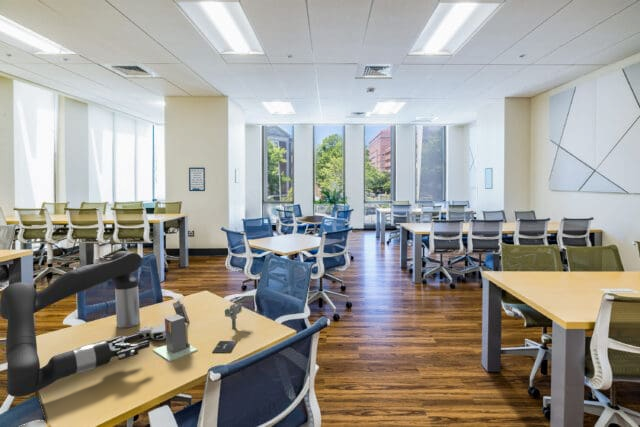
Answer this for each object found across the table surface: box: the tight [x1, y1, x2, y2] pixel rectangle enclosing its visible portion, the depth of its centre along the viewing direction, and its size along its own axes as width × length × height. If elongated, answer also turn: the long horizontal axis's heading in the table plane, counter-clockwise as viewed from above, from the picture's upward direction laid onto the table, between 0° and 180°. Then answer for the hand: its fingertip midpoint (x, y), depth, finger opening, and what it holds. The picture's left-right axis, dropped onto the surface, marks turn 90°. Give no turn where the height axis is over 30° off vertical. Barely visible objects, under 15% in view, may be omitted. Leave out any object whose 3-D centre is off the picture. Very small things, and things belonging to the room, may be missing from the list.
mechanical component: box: [224, 302, 243, 330], centre depth 152 cm, size 3×10×10 cm, turn 158°
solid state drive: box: [211, 340, 238, 354], centre depth 134 cm, size 7×10×1 cm
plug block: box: [164, 314, 187, 353], centre depth 132 cm, size 6×5×12 cm
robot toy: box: [135, 323, 166, 341], centre depth 144 cm, size 12×4×15 cm
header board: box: [152, 322, 199, 362], centre depth 131 cm, size 13×11×10 cm
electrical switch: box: [172, 298, 190, 323], centre depth 163 cm, size 9×5×9 cm, turn 30°
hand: (143, 340), depth 123 cm, fingers open, 8 cm apart
